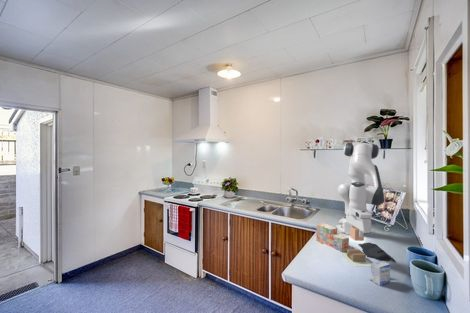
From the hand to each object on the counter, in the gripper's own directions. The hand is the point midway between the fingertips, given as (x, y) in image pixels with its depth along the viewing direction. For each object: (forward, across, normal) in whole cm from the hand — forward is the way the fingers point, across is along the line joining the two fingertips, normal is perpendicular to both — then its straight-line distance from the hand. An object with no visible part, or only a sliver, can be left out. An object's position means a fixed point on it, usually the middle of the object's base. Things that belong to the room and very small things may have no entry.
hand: (357, 234), depth 125 cm
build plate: (+15, 0, 0) cm, 15 cm away
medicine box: (+15, +20, +1) cm, 25 cm away
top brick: (+2, 0, 0) cm, 2 cm away
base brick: (+14, 0, 0) cm, 14 cm away
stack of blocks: (+15, -19, -6) cm, 25 cm away
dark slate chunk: (+16, -10, +16) cm, 24 cm away
